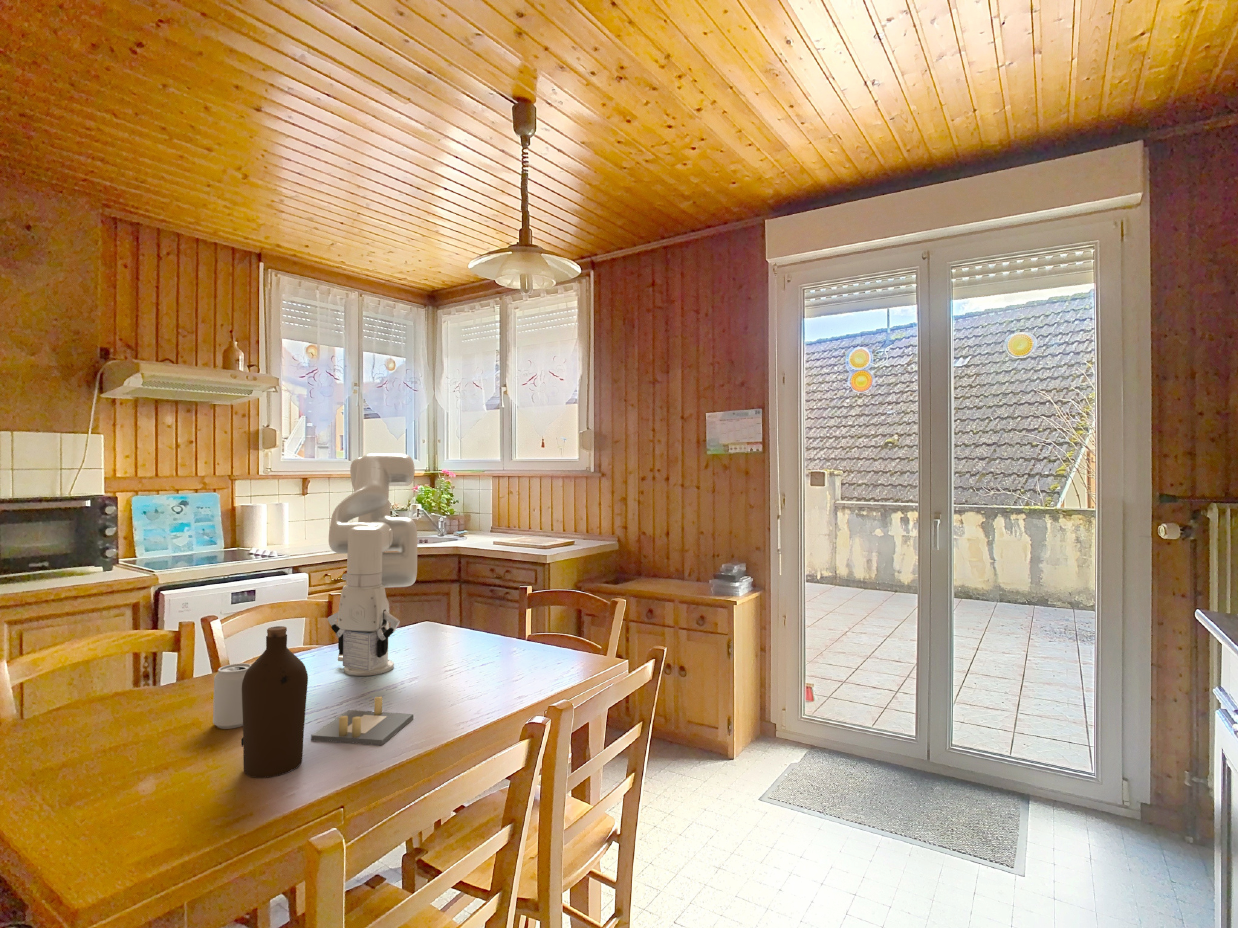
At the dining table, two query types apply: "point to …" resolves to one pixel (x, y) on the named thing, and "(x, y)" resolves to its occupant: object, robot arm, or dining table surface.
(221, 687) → the can
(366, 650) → the medicine box
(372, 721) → the pin board
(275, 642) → the olive oil
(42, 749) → the dining table surface
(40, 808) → the dining table surface
